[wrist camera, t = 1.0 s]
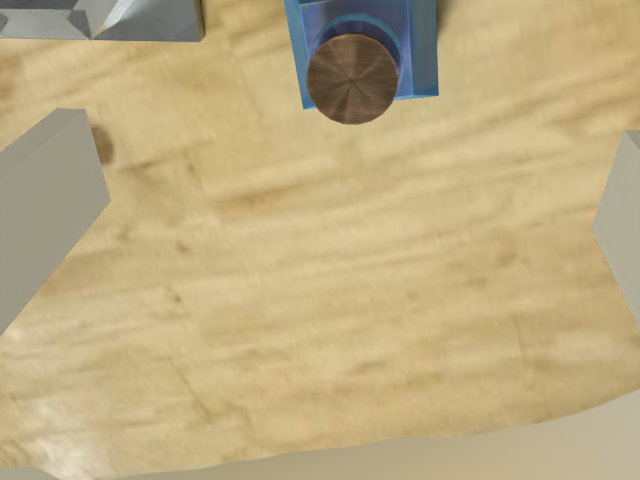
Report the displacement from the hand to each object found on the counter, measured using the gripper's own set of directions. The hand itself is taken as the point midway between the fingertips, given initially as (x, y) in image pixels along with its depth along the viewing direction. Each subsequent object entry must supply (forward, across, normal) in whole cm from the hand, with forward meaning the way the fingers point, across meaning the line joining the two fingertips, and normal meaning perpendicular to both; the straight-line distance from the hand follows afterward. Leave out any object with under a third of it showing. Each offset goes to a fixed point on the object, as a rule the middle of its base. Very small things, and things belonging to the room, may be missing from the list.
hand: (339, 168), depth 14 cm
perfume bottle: (+18, 0, 0) cm, 18 cm away
